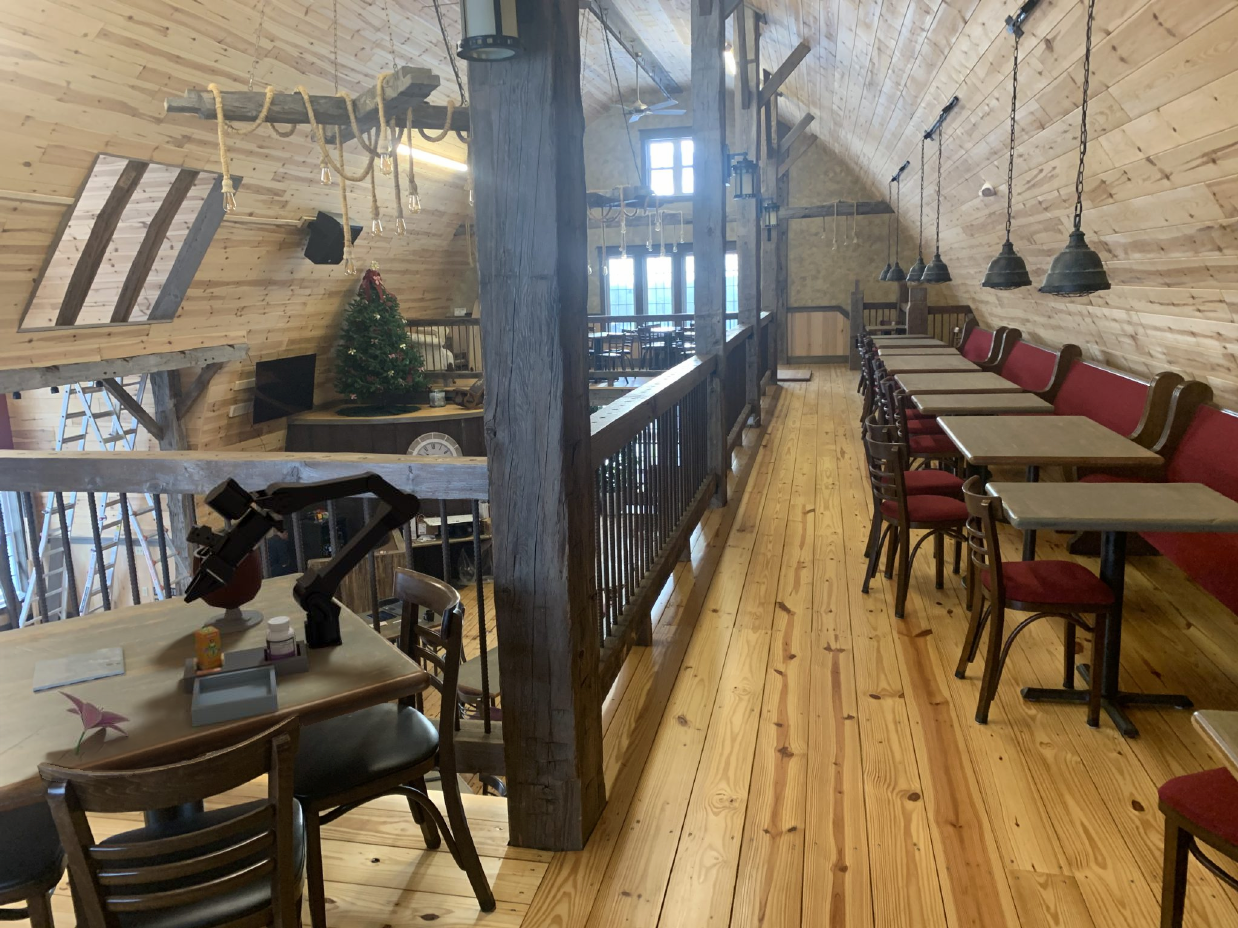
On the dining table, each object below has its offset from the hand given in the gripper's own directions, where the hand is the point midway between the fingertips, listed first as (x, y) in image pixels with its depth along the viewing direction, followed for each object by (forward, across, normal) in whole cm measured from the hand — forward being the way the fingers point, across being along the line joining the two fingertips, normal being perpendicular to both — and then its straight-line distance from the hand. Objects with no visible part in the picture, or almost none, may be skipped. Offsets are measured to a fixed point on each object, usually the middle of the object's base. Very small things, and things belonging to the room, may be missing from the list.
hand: (185, 598), depth 169 cm
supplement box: (+8, +3, +14) cm, 17 cm away
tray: (+7, +15, +18) cm, 24 cm away
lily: (+24, +20, +4) cm, 31 cm away
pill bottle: (-1, +3, +22) cm, 23 cm away
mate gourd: (+2, -27, +14) cm, 31 cm away
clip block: (+4, +3, +18) cm, 18 cm away
